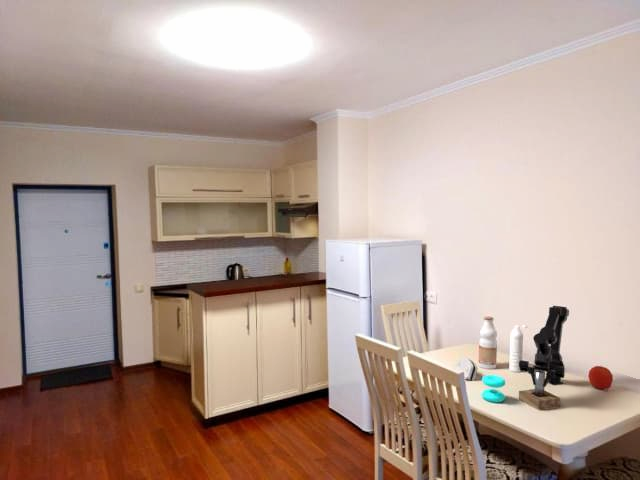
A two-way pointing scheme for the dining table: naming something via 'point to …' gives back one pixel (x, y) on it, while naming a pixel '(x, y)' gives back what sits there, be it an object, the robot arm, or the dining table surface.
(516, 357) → the water bottle
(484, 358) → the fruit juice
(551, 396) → the block
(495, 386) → the donuts
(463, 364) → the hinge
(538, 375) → the steel pin
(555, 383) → the robot arm
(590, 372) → the apple
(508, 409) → the dining table surface
